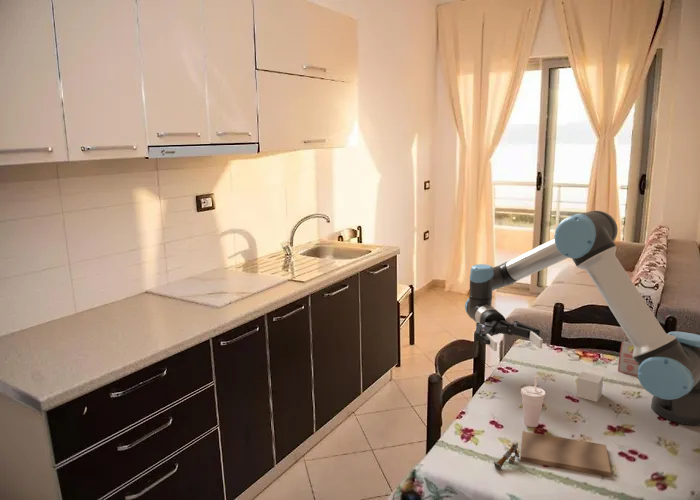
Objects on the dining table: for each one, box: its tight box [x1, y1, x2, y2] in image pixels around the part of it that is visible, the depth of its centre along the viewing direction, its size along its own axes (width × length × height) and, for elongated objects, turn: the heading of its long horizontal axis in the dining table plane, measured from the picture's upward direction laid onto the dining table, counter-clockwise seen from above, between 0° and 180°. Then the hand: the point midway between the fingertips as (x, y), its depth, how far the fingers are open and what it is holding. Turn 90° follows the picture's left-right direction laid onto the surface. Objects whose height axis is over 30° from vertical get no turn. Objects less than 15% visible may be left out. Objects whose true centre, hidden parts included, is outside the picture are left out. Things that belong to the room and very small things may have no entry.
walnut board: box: [519, 431, 612, 478], centre depth 134 cm, size 20×12×1 cm, turn 70°
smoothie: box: [520, 375, 546, 428], centre depth 148 cm, size 6×6×14 cm
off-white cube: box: [575, 371, 604, 403], centre depth 164 cm, size 6×6×6 cm
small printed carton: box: [617, 341, 639, 377], centre depth 179 cm, size 4×7×10 cm, turn 51°
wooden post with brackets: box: [493, 442, 520, 471], centre depth 131 cm, size 2×8×4 cm, turn 125°
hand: (518, 345), depth 155 cm, fingers open, 13 cm apart
